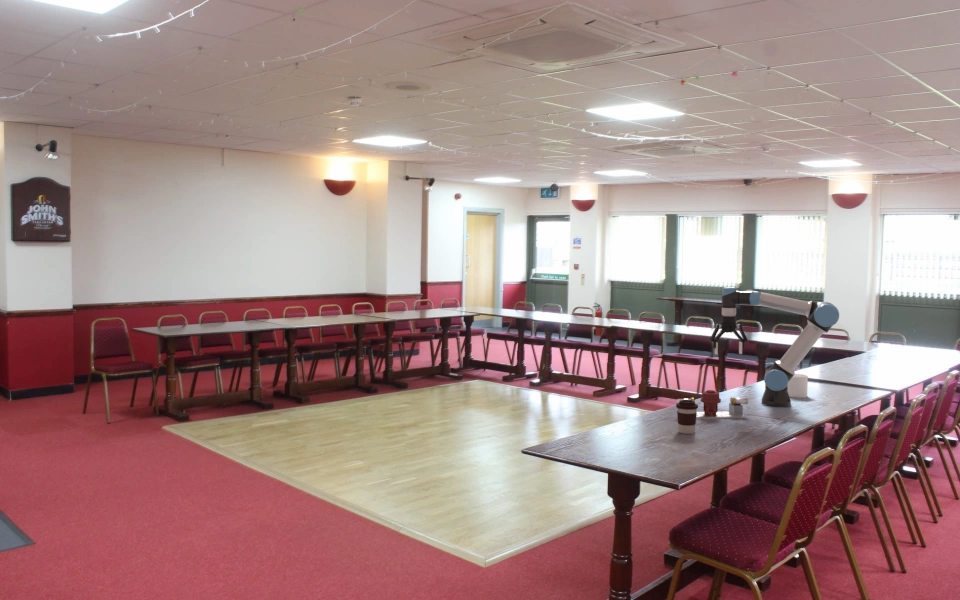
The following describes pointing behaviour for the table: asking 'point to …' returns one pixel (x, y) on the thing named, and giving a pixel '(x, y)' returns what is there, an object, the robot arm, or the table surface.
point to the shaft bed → (733, 412)
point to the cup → (798, 386)
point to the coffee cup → (686, 416)
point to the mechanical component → (710, 402)
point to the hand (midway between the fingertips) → (728, 354)
